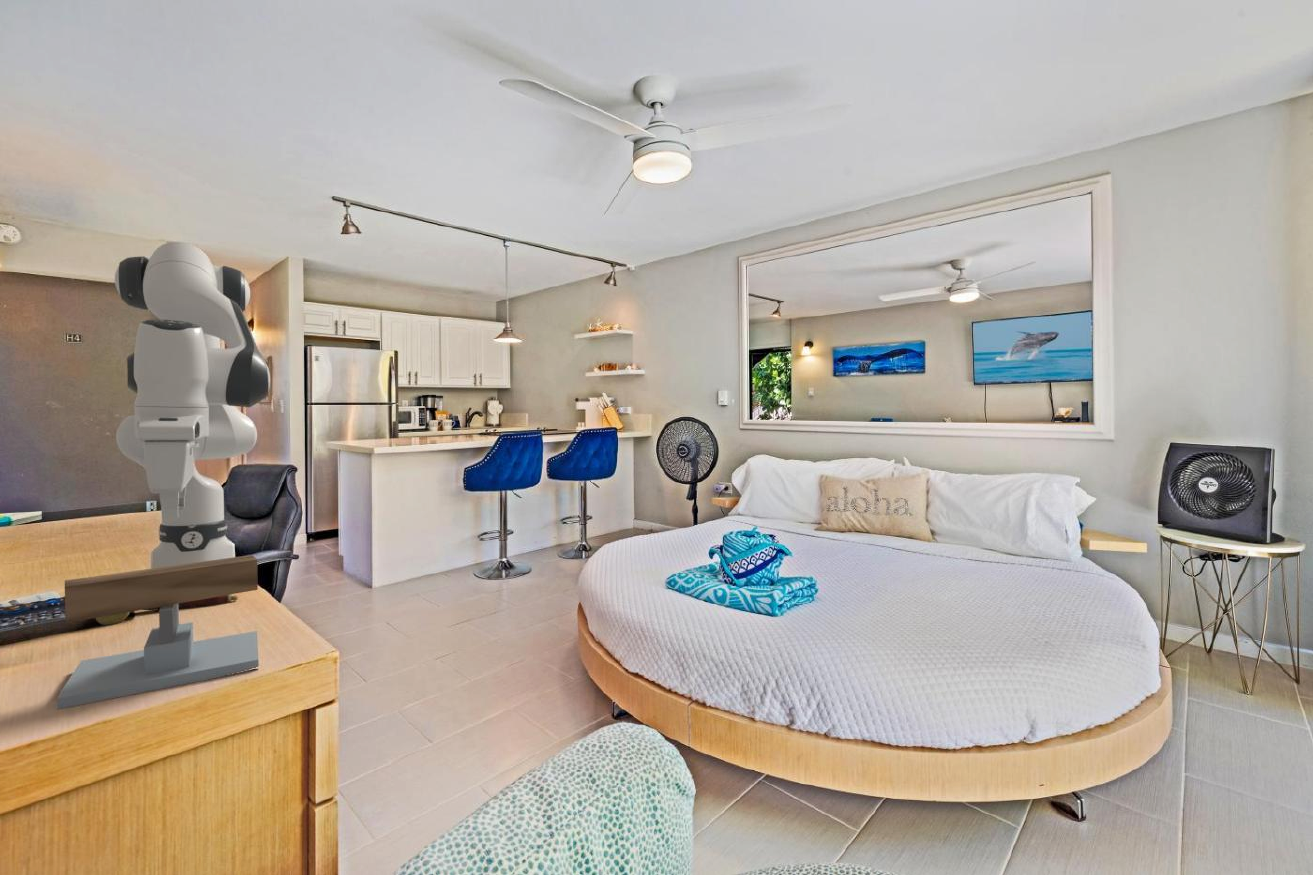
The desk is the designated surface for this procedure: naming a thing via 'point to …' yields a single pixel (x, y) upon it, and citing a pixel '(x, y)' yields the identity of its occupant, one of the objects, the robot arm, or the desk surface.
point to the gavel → (204, 602)
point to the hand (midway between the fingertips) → (174, 514)
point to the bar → (158, 587)
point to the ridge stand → (160, 663)
